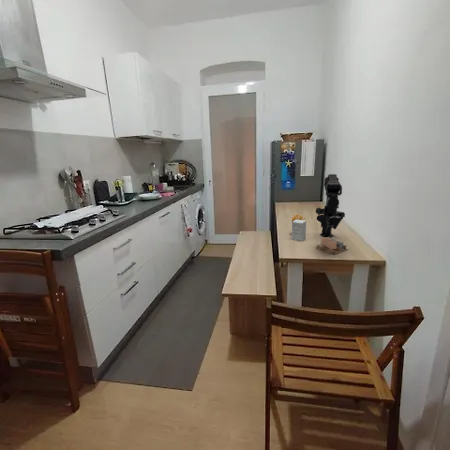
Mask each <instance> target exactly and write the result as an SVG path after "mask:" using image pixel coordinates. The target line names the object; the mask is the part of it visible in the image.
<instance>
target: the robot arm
mask: <svg viewBox="0 0 450 450" xmlns="http://www.w3.org/2000/svg"><path fill="white" fill-rule="evenodd" d="M339 179H340V178H338V177H337V174H335V173H334V174H333V173H332V174H331V173H329V174H327V176H326V177H325V178H324V181H323V187H324V190H325V196H326V199H325V200H326V201H325V205H324V207H323V208H321V207H316V208H315V213H316V214H317V216H316V221H318V222H320V228H322V229H321V233H320V234H319V236H322V237H325V238H330V237H333V236H334V233H333V234H332V230H336V229H337V227H338V226H339V225H340V224H341V222H342V220H343V219H344V218H345V216H346V213H345V212H344V211H343V212H342V211H338V209H339V208H340V206H339V205H340V199H339V196H342V194H343V185H342V184H341V183H340V181H339Z"/></svg>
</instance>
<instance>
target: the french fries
mask: <svg viewBox="0 0 450 450" xmlns="http://www.w3.org/2000/svg"><path fill="white" fill-rule="evenodd" d="M296 219H297V220H305V221H306V217H304V216H302V214H298V213H297V214H295V215H293V216H292V217H291V223H292V222H293V221H294V220H296Z"/></svg>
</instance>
